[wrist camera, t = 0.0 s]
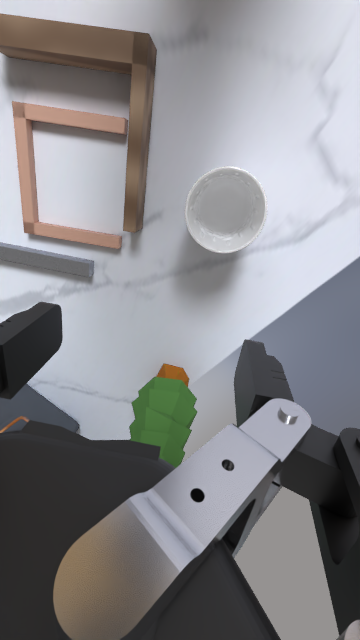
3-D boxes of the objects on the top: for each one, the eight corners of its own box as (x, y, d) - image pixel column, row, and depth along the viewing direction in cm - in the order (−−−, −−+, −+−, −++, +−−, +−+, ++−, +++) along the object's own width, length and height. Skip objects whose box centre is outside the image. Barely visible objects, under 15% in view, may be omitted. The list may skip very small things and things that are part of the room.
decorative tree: (202, 362, 47) (180, 598, 20) (197, 406, 51) (173, 652, 25) (144, 355, 48) (48, 573, 21) (143, 399, 52) (63, 629, 25)
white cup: (263, 223, 37) (277, 236, 28) (205, 245, 39) (201, 264, 30) (244, 158, 35) (253, 150, 26) (183, 186, 37) (172, 188, 28)
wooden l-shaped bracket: (7, 30, 32) (-20, 10, 29) (157, 50, 31) (149, 33, 28) (23, 208, 40) (4, 210, 37) (142, 228, 40) (134, 232, 36)
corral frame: (18, 103, 35) (11, 101, 34) (127, 120, 34) (124, 118, 33) (29, 231, 42) (24, 232, 40) (121, 247, 41) (118, 248, 40)
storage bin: (-27, 392, 57) (-98, 454, 44) (10, 346, 51) (-61, 401, 38) (61, 453, 61) (20, 525, 49) (104, 417, 56) (69, 488, 43)
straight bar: (-8, 252, 44) (-18, 255, 42) (-10, 239, 43) (-20, 242, 41) (94, 273, 43) (88, 277, 42) (94, 260, 43) (89, 263, 41)
